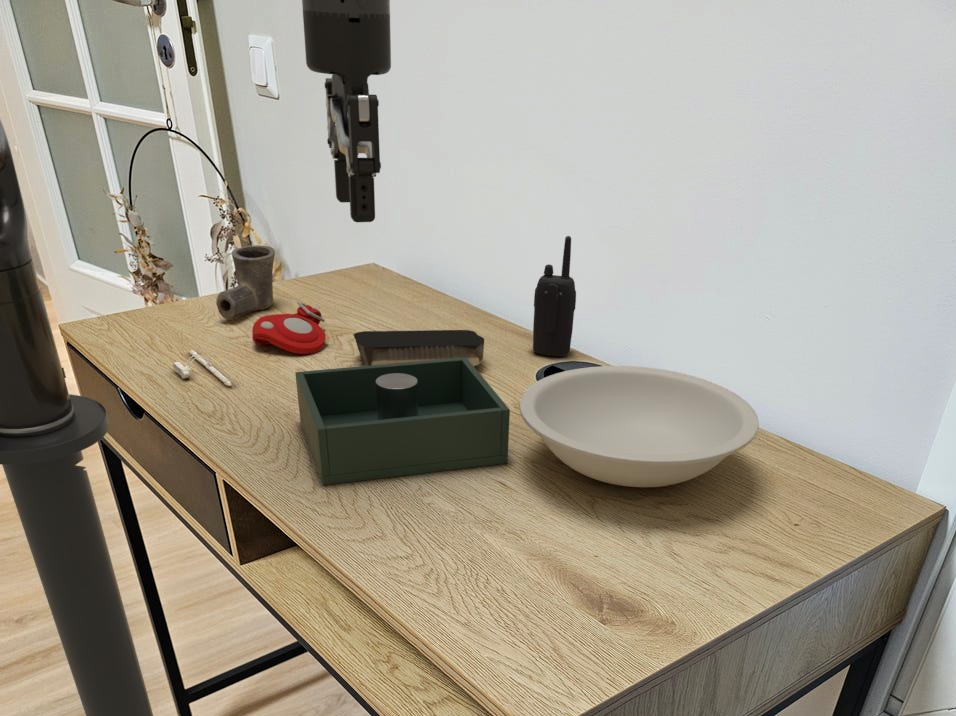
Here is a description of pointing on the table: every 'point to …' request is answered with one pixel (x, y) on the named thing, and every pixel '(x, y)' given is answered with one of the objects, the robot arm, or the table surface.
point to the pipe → (249, 282)
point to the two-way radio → (554, 309)
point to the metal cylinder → (396, 396)
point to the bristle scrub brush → (418, 346)
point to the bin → (401, 421)
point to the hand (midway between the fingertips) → (355, 211)
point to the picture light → (185, 370)
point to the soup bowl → (637, 423)
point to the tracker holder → (291, 330)
